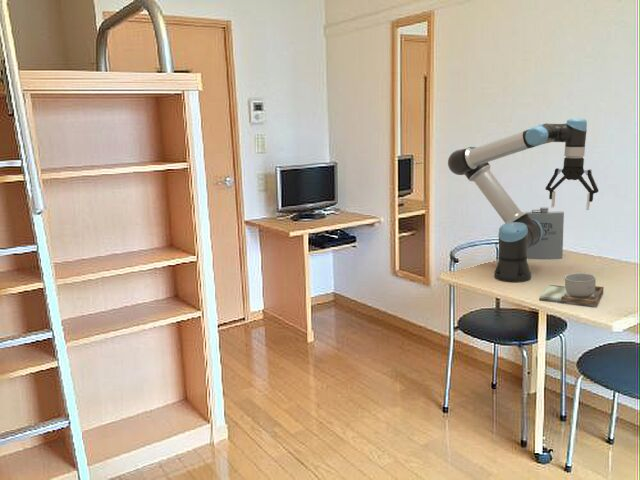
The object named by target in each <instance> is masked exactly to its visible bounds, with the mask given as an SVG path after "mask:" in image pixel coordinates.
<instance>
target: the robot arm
mask: <svg viewBox="0 0 640 480" xmlns="http://www.w3.org/2000/svg"><path fill="white" fill-rule="evenodd" d="M587 122H588V121H587V119H585V118H568V119H567V120H566V123H547V122H546V123H540V124H538V125H536V126H533V127H530V128H529V129H525V130H522V131H520V132H517V133H514V134H511V135H509V136H506V137H503V138H500V139H497V140H494V141H491V142H489V143H486V144H483V145H480V146H478V147H477V146H468V147H465V148H462V149H457V150H454V151H453V152H452V153H451V154H450V155H449V157H448V159H447V166H448V168H449V170H450V171H451V173H452V174H454V175H457V176H465V177H466V178H467V180H468V181H469V182H474V183H475V185H476V186H477V187H478V189H479V190H480V191H481V193H482V195H483V196H485V198H486V199H487V201H488V202H489V204H490V205H491V207H492V208H493V209H494V210H495V212H496V214H498V215H499V216H500V219H502V221H503V222H504V223H503V224H502V225H500V227H499V229H498V261H497V264H496V267H495V270H494V279H496V280H497V281H501V282H507V283H521V282H527V281H530V279H532V273H531V269H530V266H529V262H528V259H527V248H529V247H531V246H534V245H535V244H537V243H538V242H539V241H540V239H541V238H542V234H543V229H542V226H541V225H540V223H539V222H538V221H536V220H534V219H531V218H530V217H529V215H528V214H527V213H525V212H523V211H521V209H520V208H519V206H518V205H517V204H516V203H515V202H514V200H513V199H512V198H511V196H510V195H509V194H508V192H507V191H506V190H505V188H504V187H503V186H502V184H501V183H500V181H498V179H497V178H496V177H495V175H494V174H493V172H492V171H491V164H490V163H489V162H492V161H495V160H498V159H501V158H504V157H507V156H510V155H514V154H517V153H519V152H523V151H526V150H528V149H533V148H535V147H538V146H542V145H545V144H549V143H565V144H564V145H565V146H564V158H563V167H562V168H558V167H556V168H555V169H554V173H553V175H552V177H551V179H550V180H549V182H548V183H547V185H546V186H545V190H546V191H548V192H549V196H548V197H549V200H551V208H554V207H555V204H556V203H555V202H556V191H555V190H556V189H557V188H558V187H559V186H560V185H561V184H562V183H563V182H564V181H565V180H568V181H571V180H573V181H577V180H578V182H580V183H581V184H582V185H583V187H584V188H585V189H586V190H587V192H588V193H587V195H586V197H587V198H586V207H585V210H586V211H589V210H590V206H591V205H590V203H592V202H593V200H594V194H597V193H598V192H599V187H598V185H597V183H596V181H595V179H594V177H593V173H592V172H593V171H592V169H591V168H589V169H584V165H585V159H584V157H585V151H586V140H587V131H588V130H587V126H588V125H587ZM560 173H561V174H563V176H562V177H560V179H559V180H558V181H557V182H556V183H555V184H554V185H553V183H554V182H555V180H556V179H557V177H558V175H559V174H560ZM584 174H585V175H586V176H587V178H588V180H589V183H590V184H588V183H587V181H586V180H585V179H584V177H583V175H584ZM552 185H553V186H552ZM590 185H591V186H592V187H591V186H590Z"/></svg>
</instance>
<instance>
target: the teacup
mask: <svg viewBox="0 0 640 480" xmlns="http://www.w3.org/2000/svg"><path fill="white" fill-rule="evenodd" d="M596 279H597V277H596V275H594V274H592V273H586V272H582V271H577V272H573V273H572V272H571V273H568V274H566V275H564V286H565V289H566V292H567V293H568V294H569V295H570V296H571V297H573V298H581V299H584V298H588V297H590V296H591V295H593V294H594V292H595V286H596V282H597V281H596Z"/></svg>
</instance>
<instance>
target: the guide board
mask: <svg viewBox="0 0 640 480" xmlns="http://www.w3.org/2000/svg"><path fill="white" fill-rule="evenodd" d="M603 294H604V286H598V285H595V292H594V294H593V295H591V296H590V297H588V298H584V299H581V298H573V297H571V296H570V295H569V294H568V293H567V292H566V289H565V285H556V284H548V286H547V287H546V288H545V289H544V291H543V292H542V293H541V295H540V296H539V298H538V301H542V302H547V303H548V302H549V303H556V302H557V304H564V303H565V305H573V306H574V305H575V306H582V307H587V308H588V307H590V308H597V307H598V304H599V303H600V300H601V299H602V296H603Z"/></svg>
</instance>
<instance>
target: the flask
mask: <svg viewBox="0 0 640 480" xmlns="http://www.w3.org/2000/svg"><path fill="white" fill-rule="evenodd" d="M524 213H527V214H528V215H529V217H530V218H531V219H534V220H536V221H538V222H539V223H540V225H541V226H542V229H543V234H542V238H541V239H540V241H539V242H538V243H537V244H535V245H534V246H531V247H529V248H527V260H562V259H563V255H564V254H563V253H564V252H563V251H564V250H563V249H564V220H565V219H564V217H565V211H561V210H559V211H549V207H548V206H542V207H540V208H537V209H531V211H525V212H524Z"/></svg>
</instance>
